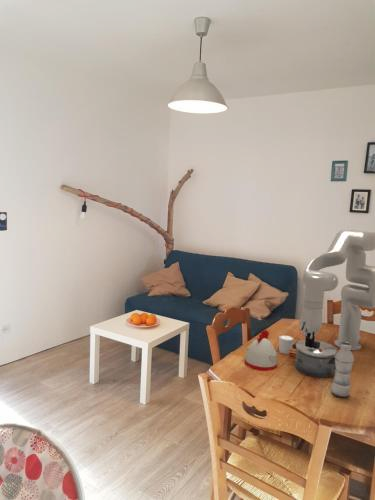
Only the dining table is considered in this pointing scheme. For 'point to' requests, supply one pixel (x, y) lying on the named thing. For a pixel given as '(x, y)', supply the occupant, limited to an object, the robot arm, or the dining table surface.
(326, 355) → the cooker lid
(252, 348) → the kitchen timer
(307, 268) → the robot arm
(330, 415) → the dining table surface
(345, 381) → the plastic bottle
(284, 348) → the white cylinder
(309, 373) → the cooker pot
